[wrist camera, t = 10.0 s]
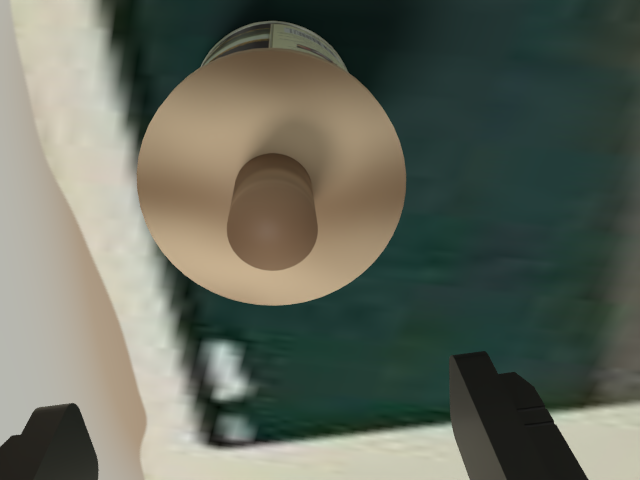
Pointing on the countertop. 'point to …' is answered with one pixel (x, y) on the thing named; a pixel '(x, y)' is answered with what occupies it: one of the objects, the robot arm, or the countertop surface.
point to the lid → (271, 177)
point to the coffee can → (274, 41)
